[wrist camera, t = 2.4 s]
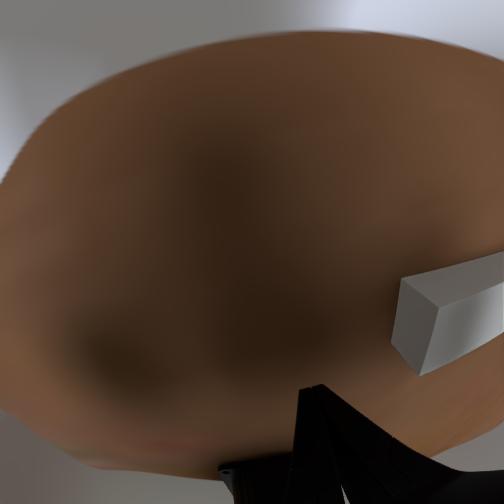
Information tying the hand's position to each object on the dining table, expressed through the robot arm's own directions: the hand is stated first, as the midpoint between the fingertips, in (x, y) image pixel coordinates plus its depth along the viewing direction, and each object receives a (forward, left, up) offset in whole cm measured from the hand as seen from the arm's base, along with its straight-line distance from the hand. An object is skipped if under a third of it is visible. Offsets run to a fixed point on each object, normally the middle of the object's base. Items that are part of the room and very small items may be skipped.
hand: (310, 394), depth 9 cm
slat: (0, -11, -3) cm, 11 cm away
